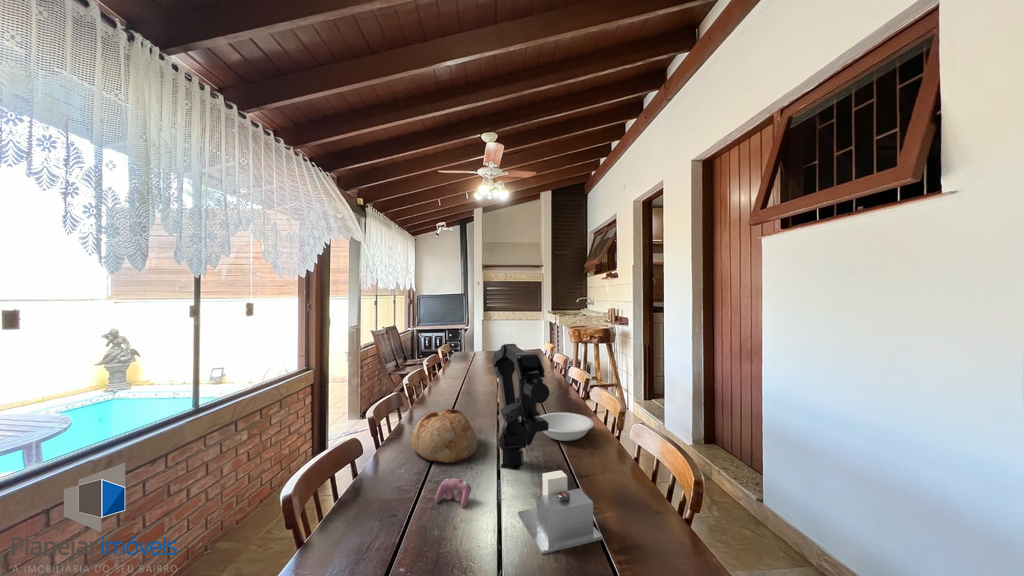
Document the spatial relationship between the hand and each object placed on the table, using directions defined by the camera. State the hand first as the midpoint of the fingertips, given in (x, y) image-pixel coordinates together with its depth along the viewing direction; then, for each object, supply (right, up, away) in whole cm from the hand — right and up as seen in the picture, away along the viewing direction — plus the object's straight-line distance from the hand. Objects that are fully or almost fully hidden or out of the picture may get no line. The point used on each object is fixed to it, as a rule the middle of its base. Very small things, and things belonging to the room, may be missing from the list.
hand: (528, 444), depth 116 cm
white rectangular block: (+7, -12, -21) cm, 25 cm away
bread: (-31, -14, +27) cm, 44 cm away
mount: (+7, -13, -20) cm, 24 cm away
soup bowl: (+17, -14, +40) cm, 45 cm away
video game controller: (-22, -14, -7) cm, 27 cm away
